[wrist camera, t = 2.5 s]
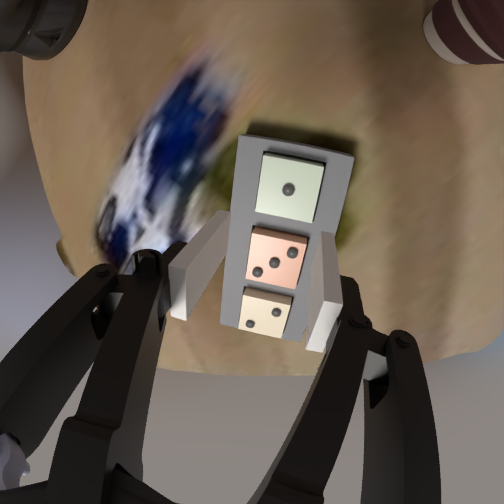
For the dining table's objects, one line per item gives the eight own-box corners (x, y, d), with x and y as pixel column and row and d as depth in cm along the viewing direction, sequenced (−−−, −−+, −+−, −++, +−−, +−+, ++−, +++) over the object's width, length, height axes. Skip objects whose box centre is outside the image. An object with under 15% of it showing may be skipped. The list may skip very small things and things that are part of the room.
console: (225, 311, 42) (219, 323, 39) (245, 133, 29) (239, 135, 27) (301, 328, 41) (300, 342, 38) (350, 154, 28) (354, 157, 25)
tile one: (260, 203, 31) (254, 212, 28) (267, 151, 28) (262, 155, 25) (311, 213, 31) (311, 224, 28) (322, 162, 28) (324, 167, 25)
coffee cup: (475, 88, 20) (555, 89, 7) (408, 53, 20) (472, 18, 7) (479, 28, 15) (546, 7, 2) (413, -8, 16) (462, -59, 3)
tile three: (250, 265, 35) (244, 279, 33) (257, 222, 32) (251, 234, 30) (296, 275, 35) (294, 290, 32) (307, 233, 32) (306, 245, 29)
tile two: (243, 314, 40) (237, 330, 37) (248, 281, 37) (242, 296, 34) (283, 323, 39) (280, 339, 36) (292, 291, 36) (290, 307, 33)
